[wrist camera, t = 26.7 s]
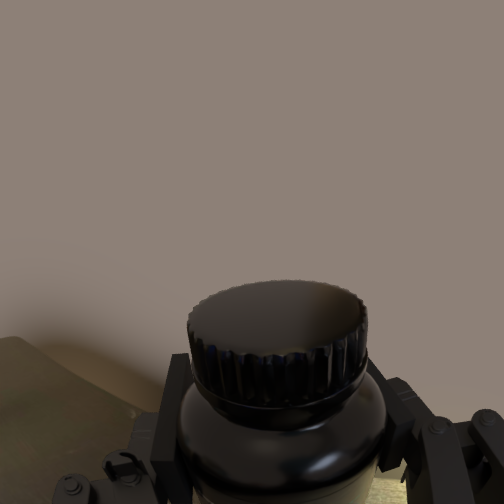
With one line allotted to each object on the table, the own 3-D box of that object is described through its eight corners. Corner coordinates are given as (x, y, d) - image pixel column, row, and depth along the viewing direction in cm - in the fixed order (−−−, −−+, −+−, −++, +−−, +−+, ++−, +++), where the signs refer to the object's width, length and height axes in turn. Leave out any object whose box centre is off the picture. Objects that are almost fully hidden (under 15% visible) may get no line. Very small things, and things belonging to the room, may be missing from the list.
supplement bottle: (189, 514, 12) (114, 308, 9) (288, 456, 16) (280, 259, 13) (278, 600, 6) (263, 446, 4) (381, 512, 11) (444, 294, 8)
